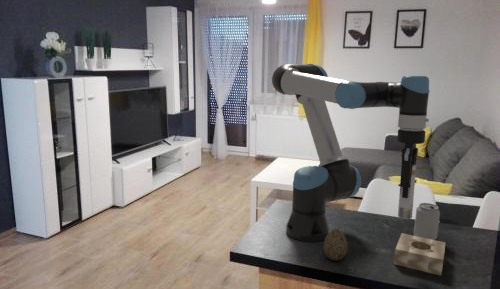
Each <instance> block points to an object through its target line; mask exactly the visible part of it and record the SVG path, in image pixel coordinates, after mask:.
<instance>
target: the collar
mask: <svg viewBox="0 0 500 289" xmlns="http://www.w3.org/2000/svg"><path fill="white" fill-rule="evenodd" d="M445 250H446V242H444V241H440V240H437V239H435V240H432V239H427V238H422V237H417V236H415V235H414V234H413V235H411V234H408V233H403V232H402V233H401V234H400V237H399V238H398V242H397V244H396V247H395V250H394V258H393V259H394V260H393V265H396V266H400V267H404V268H409V269H412V270H416V271H421V272H424V273H429V274H432V275H436V276H439V277H440V276H442V272H443V265H444V260H445V259H444V258H445Z"/></svg>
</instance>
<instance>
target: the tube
mask: <svg viewBox="0 0 500 289" xmlns="http://www.w3.org/2000/svg"><path fill="white" fill-rule="evenodd" d="M416 173H417V165H416V166H415V165H413V167H412V176H411V197H410V208H409V209H407V208H401V207H400V195H401V186H399V194H398V195H399V199H398V211H397V216H398V218H400V219H403V220H409V219H412V218H413V211H414V210H413V208H414V196H415V187H416V186H415V185H416V183H415V180H416ZM399 181H401V179H400V180H399Z"/></svg>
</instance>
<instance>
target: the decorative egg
mask: <svg viewBox="0 0 500 289" xmlns="http://www.w3.org/2000/svg"><path fill="white" fill-rule="evenodd" d="M323 251H324V254H325V255H326V257H327V258H328V259H329V260H331V261H334V262H336V261H340V260H342V259H343V258H344V257H345V256H346V254H347V252H348V242H347V238H346V237H345V235H344V233H343V232H342V231H341V230H340V229H339V228H338V229H337V228H334V229H332V230H331V231H329V234H328V235H327V236H326V238H325V240H323Z"/></svg>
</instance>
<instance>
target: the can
mask: <svg viewBox="0 0 500 289" xmlns="http://www.w3.org/2000/svg"><path fill="white" fill-rule="evenodd" d="M440 215H441V212H440V210H439V206H438V205H436V204H433V203H430V202H429V203H428V202H421V203H419V204H418V206H417V207H416V211H415V219H414V227H413V236H417V237H422V238H427V239H432V240H437V239H438V231H439V224H440V217H441V216H440Z"/></svg>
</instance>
